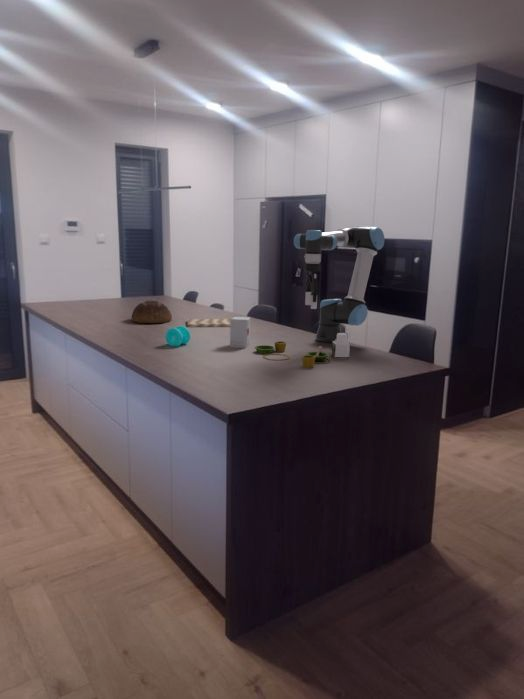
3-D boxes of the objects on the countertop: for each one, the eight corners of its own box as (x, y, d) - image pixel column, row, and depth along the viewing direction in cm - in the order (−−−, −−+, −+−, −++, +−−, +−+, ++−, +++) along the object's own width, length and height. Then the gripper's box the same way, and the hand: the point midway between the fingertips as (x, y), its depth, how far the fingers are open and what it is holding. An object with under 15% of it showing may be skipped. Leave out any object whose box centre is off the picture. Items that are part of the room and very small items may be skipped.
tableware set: (342, 367, 244) (342, 353, 243) (288, 372, 232) (289, 358, 231) (297, 348, 280) (297, 336, 279) (248, 352, 268) (249, 340, 267)
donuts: (164, 346, 277) (164, 327, 274) (176, 342, 285) (175, 324, 283) (180, 348, 272) (180, 329, 270) (191, 345, 281) (191, 326, 279)
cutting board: (232, 321, 356) (232, 318, 356) (236, 326, 337) (236, 324, 336) (186, 321, 351) (186, 319, 351) (187, 327, 332) (187, 324, 331)
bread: (168, 317, 368) (168, 298, 365) (175, 323, 343) (174, 303, 341) (129, 318, 360) (129, 298, 357) (133, 325, 335) (132, 304, 333)
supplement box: (246, 348, 275) (247, 319, 272) (229, 347, 277) (229, 318, 273) (250, 345, 284) (251, 317, 280) (234, 344, 285) (234, 316, 282)
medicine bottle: (331, 355, 265) (332, 331, 262) (345, 355, 266) (347, 331, 263) (334, 358, 258) (335, 334, 256) (349, 358, 259) (350, 334, 256)
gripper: (300, 261, 269) (298, 303, 274) (310, 264, 245) (308, 310, 249) (314, 261, 270) (312, 303, 275) (326, 264, 246) (324, 310, 250)
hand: (310, 306), depth 262 cm, fingers open, 13 cm apart
